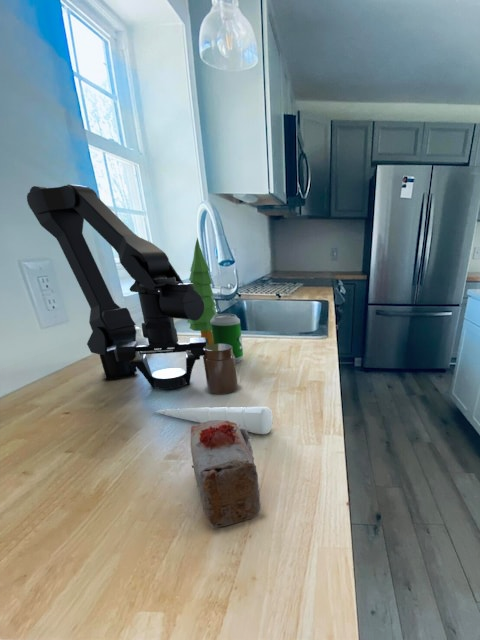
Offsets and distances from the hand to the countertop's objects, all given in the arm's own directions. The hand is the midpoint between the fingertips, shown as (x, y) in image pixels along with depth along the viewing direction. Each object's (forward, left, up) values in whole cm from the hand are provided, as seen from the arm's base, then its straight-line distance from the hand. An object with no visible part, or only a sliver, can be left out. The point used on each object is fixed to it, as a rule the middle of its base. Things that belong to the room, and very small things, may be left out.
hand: (171, 385), depth 84 cm
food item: (+1, -45, 0) cm, 45 cm away
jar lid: (0, 0, +3) cm, 3 cm away
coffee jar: (+10, -7, 0) cm, 12 cm away
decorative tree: (+15, +33, 0) cm, 36 cm away
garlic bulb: (-4, +34, 0) cm, 34 cm away
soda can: (+17, +13, 0) cm, 21 cm away
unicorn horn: (+4, -24, 0) cm, 24 cm away
